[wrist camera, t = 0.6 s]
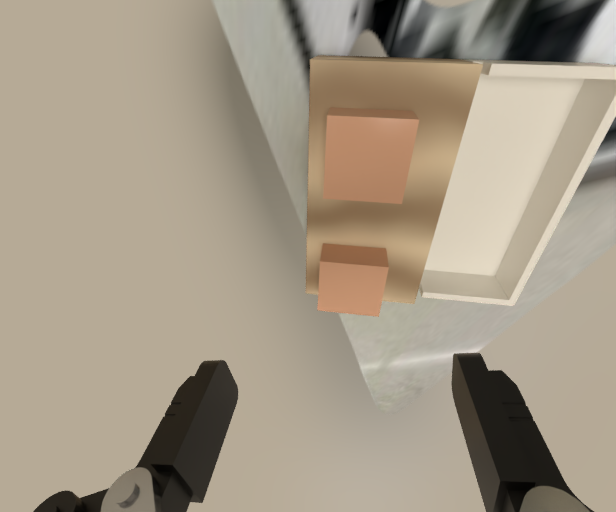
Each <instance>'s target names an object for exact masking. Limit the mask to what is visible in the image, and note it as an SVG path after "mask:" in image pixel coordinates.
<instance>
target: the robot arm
mask: <svg viewBox="0 0 616 512" xmlns="http://www.w3.org/2000/svg"><path fill="white" fill-rule="evenodd" d="M452 392H453V398H454V402H455V406H456V409H457V413H458V416H459V420H460V423H461V426H462V429H463V433H464V437H465V440H466V444H467V447H468V451H469V454H470V458H471V461H472V464H473V468H474V471H475V475H476V478H477V482H478V485H479V488H480V492H481V495H482V499H483V502H484V506H485V509H486V512H594V511H592V510H591V509H589V508H588V507H587V506H586V505H584V504H583V503H582V502H581V501H580V500H579V499H578V498H577V497H576V496H575V495H574V494H573V493H572V491H571V490H570V489H569V487H568V486H567V484H566V483H565V481H564V479H563V477H562V476H561V473H560V471H559V469H558V467H557V465H556V463H555V461H554V459H553V457H552V455H551V453H550V451H549V449H548V447H547V445H546V443H545V441H544V439H543V437H542V435H541V433H540V431H539V429H538V427H537V425H536V423H535V421H533V417H532V415H531V413H530V411H529V409H528V407H527V406H526V404H525V401H524V399H523V397H522V395H521V393H520V391H519V389H518V387H517V385H516V384H515V383H514V382H513V381H512V380H511V379H510V378H509V377H508V376H507V375H506V374H505V373H504V372H503V371H501V370H498V371H488V369H487V367H486V364H485V362H484V360H483V357H482V356H481V354H480V353H459V354H454V355H453V369H452ZM237 400H238V388H237V384H236V383H235V380H234V379H233V376H232V374H231V372H230V370H229V368H228V365H227V363H226V362H225V361H223V360H220V361H219V360H218V361H204V362H203V363H201V365H200V366H199V369H198V370H197V373H196V374H195V376H190V377H189V378H188V379H187V380H186V381H185V382H184V383H183V384H182V385H181V386H180V387H179V389H178V390H177V392H176V394H175V396H174V398H173V400H172V402H171V405H170V406H169V407H168V409H167V411H166V413H165V417H163V419H162V420H161V422H160V424H159V426H158V428H157V430H156V432H155V434H154V435H153V437H152V439H151V441H150V443H149V445H148V447H147V449H146V450H145V452H144V454H143V456H142V458H141V460H140V461H139V463H138V465H137V466H136V467H135V468H134V469H131V470H129V471H127V472H125V473H124V474H123V475H121V476H120V477H119V478H118V479H117V480H116V481H115V482H114V483H113V484H112V486H111V487H110V488H108V489H106V490H103V491H100V492H97V493H94V494H91V495H88V496H85V497H82V498H79V497H77V496H76V495H75V494H74V493H73V492H70V491H61V492H58V493H56V494H54V495H52V496H51V497H49V498H48V499H46V500H45V501H44V502H43V503H41V504H40V505H39V506H38V507H37V508H36V509H35V510H34V512H186V511H187V509H188V506H189V503H190V502H199V503H202V502H203V500H204V497H205V494H206V491H207V488H208V485H209V482H210V480H211V477H212V474H213V471H214V468H215V465H216V462H217V459H218V456H219V453H220V450H221V447H222V444H223V442H224V438H225V436H226V433H227V430H228V427H229V424H230V421H231V418H232V415H233V412H234V409H235V407H236V404H237Z"/></svg>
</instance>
